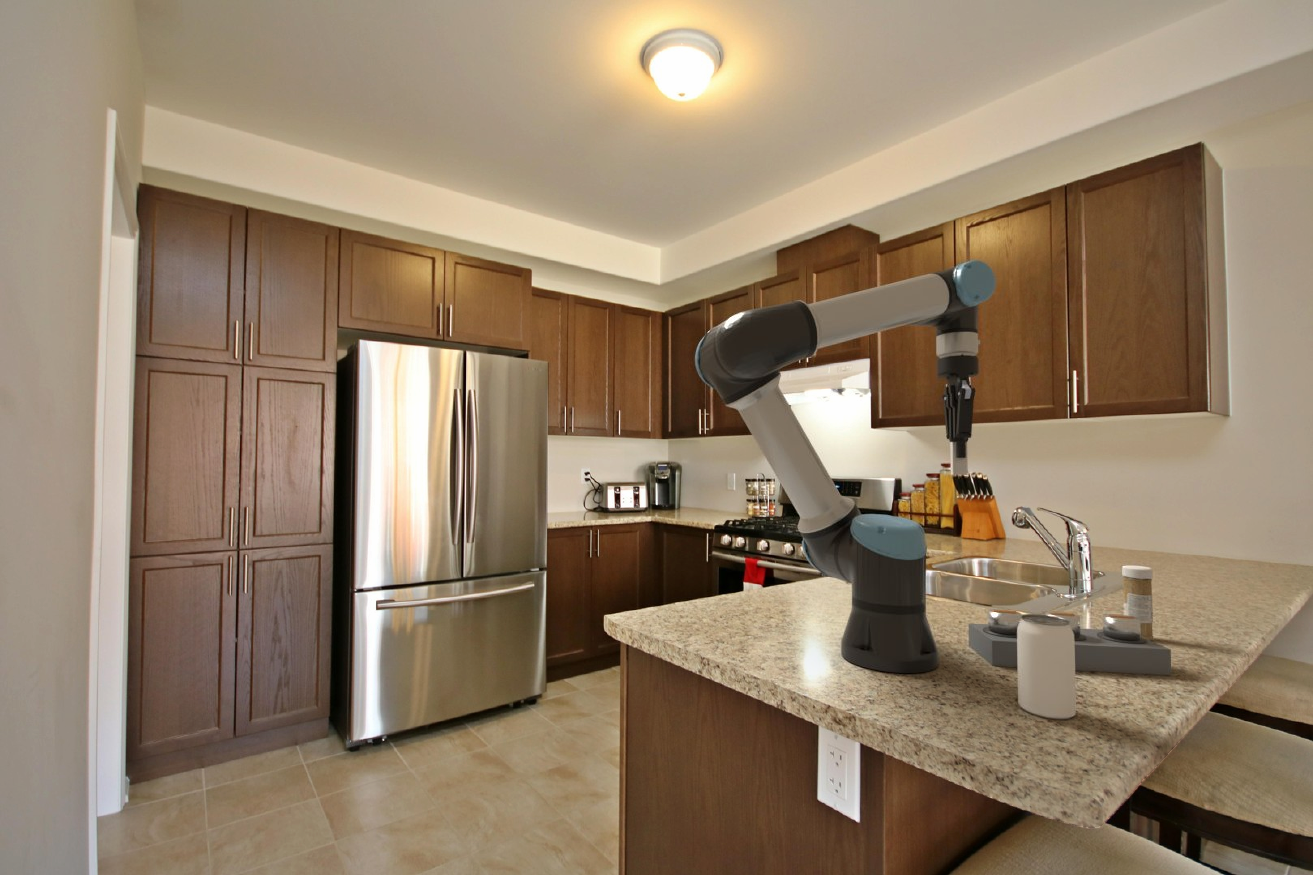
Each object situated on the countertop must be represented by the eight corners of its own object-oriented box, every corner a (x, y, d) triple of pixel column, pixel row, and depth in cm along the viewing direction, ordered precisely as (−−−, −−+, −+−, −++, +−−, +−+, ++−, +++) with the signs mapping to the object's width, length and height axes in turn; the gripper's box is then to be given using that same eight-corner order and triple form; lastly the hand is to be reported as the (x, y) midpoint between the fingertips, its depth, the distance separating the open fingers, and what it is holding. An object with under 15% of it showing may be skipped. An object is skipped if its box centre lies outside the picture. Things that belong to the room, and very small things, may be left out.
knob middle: (1053, 636, 102) (1053, 615, 102) (1039, 628, 107) (1039, 608, 107) (1086, 637, 101) (1086, 617, 101) (1070, 629, 106) (1070, 610, 106)
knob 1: (994, 633, 103) (994, 613, 103) (983, 625, 108) (983, 606, 108) (1027, 634, 102) (1026, 614, 102) (1014, 627, 107) (1014, 607, 107)
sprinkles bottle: (1127, 633, 120) (1125, 563, 121) (1156, 638, 117) (1155, 567, 117) (1120, 637, 117) (1118, 566, 118) (1150, 642, 114) (1148, 569, 114)
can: (1077, 724, 77) (1075, 627, 78) (1017, 713, 81) (1015, 620, 81) (1074, 707, 83) (1073, 617, 83) (1018, 697, 86) (1017, 610, 87)
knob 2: (1113, 639, 100) (1113, 618, 100) (1096, 630, 105) (1096, 611, 105) (1147, 640, 99) (1147, 620, 100) (1128, 632, 104) (1128, 612, 105)
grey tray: (992, 665, 100) (992, 639, 100) (968, 645, 111) (968, 622, 111) (1171, 675, 96) (1170, 648, 96) (1128, 653, 107) (1128, 629, 107)
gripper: (989, 350, 117) (991, 475, 116) (966, 361, 130) (968, 474, 129) (947, 351, 118) (949, 475, 117) (928, 362, 131) (930, 474, 130)
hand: (959, 474), depth 123 cm, fingers closed
